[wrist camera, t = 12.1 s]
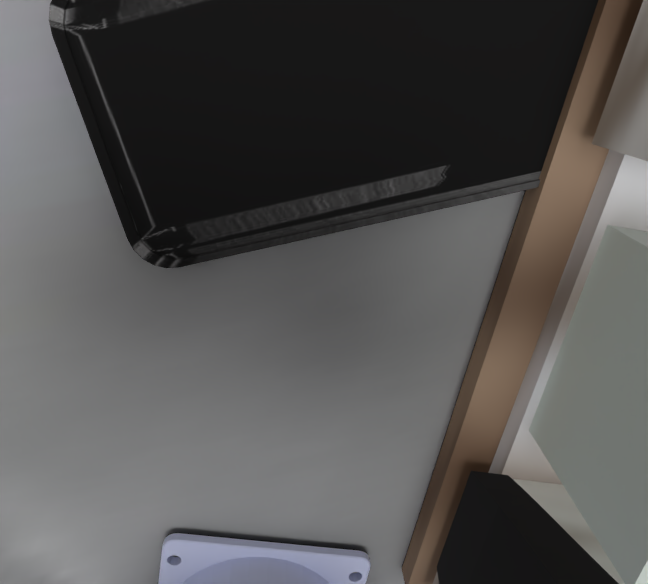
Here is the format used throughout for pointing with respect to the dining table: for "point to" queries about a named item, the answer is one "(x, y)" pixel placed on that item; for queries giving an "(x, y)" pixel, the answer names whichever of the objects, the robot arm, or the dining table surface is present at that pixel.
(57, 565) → the dining table surface
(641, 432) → the block
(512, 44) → the phone
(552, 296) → the board
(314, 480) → the dining table surface
